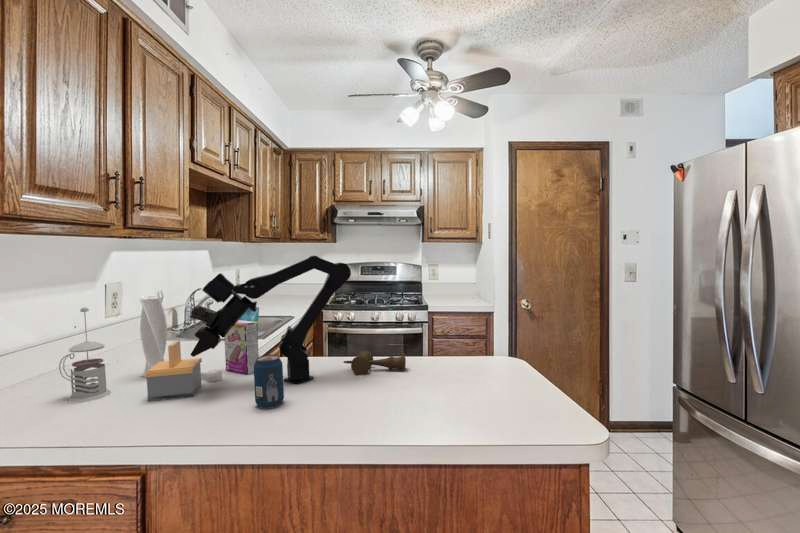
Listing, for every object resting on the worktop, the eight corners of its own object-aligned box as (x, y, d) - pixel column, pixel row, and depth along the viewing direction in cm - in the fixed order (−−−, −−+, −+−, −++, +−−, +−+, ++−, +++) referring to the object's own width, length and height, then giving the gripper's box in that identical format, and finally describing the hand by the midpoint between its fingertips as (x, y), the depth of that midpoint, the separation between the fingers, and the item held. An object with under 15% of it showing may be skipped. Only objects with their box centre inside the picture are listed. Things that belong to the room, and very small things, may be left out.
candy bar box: (224, 371, 136) (222, 321, 136) (237, 367, 140) (235, 319, 140) (247, 375, 130) (244, 323, 130) (260, 371, 135) (257, 321, 134)
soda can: (270, 398, 109) (267, 353, 109) (290, 401, 106) (287, 355, 105) (249, 407, 103) (247, 359, 102) (269, 411, 100) (267, 362, 99)
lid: (201, 361, 123) (200, 337, 122) (192, 373, 111) (190, 345, 111) (160, 365, 120) (159, 340, 120) (146, 377, 108) (144, 349, 108)
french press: (99, 400, 111) (93, 308, 110) (51, 404, 110) (45, 311, 109) (118, 388, 121) (113, 304, 120) (74, 392, 119) (68, 306, 118)
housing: (201, 385, 122) (200, 361, 122) (193, 396, 112) (191, 371, 112) (160, 389, 119) (158, 365, 119) (148, 401, 110) (146, 375, 109)
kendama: (404, 376, 126) (339, 375, 127) (406, 368, 135) (346, 367, 137) (404, 357, 125) (339, 356, 127) (406, 350, 135) (346, 349, 137)
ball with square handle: (225, 378, 128) (225, 370, 128) (215, 382, 124) (214, 374, 124) (206, 376, 131) (205, 368, 131) (195, 380, 126) (195, 372, 126)
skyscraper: (177, 374, 135) (172, 289, 134) (152, 381, 128) (147, 291, 127) (161, 371, 139) (156, 288, 138) (136, 378, 132) (131, 291, 131)
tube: (241, 365, 143) (238, 310, 142) (237, 362, 147) (235, 308, 146) (262, 361, 147) (260, 307, 146) (259, 358, 151) (256, 306, 150)
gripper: (214, 292, 126) (177, 331, 124) (201, 298, 108) (157, 344, 106) (243, 315, 128) (207, 354, 126) (235, 325, 110) (192, 371, 108)
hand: (192, 355), depth 116 cm, fingers closed
